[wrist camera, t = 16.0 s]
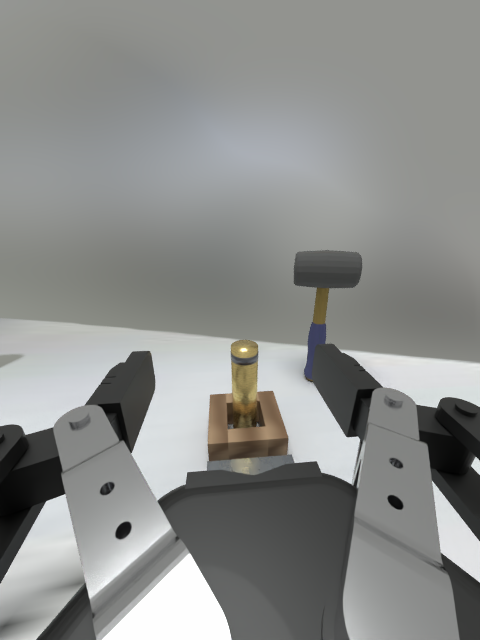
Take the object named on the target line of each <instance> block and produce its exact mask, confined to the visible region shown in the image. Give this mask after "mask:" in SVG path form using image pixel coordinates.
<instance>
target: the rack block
mask: <svg viewBox="0 0 480 640" xmlns="http://www.w3.org/2000/svg"><path fill="white" fill-rule="evenodd" d="M256 422H259V425H260V427H250V428H236V429H228V426H227V424H233V400H232V393H231V394H215V395H210V408H209V428H208V454H209V461H220V460H232V459H245V458H257V457H269V456H281V455H287V448H288V435H287V432H286V429H285V426H284V423H283V420H282V417H281V414H280V411H279V408H278V405H277V402H276V399H275V396H274V393H273V391H264V392H257V421H256Z"/></svg>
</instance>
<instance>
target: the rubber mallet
mask: <svg viewBox="0 0 480 640" xmlns="http://www.w3.org/2000/svg"><path fill="white" fill-rule="evenodd" d="M361 271H362V258H361V255H360V254H359V253H357V252H344V251H329V250H325V251H304V252H298V253H297V254H296V258H295V265H294V284H295V285H297V286H306V287H317V292H316V300H315V308H314V316H313V322H312V324H311V327H310V331H309V336H308V356H307V364H306V367H305V369H304V374H305V376H306V378H307V379H308V380H310V381H313V379H312V366H313V359H314V352H315V347H316V345H317V344H325V341H326V324H325V318H326V310H327V302H328V293H329V288H353V287H355V286H356V285H357V284H358V282H359V280H360V276H361Z"/></svg>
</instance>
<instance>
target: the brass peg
mask: <svg viewBox="0 0 480 640" xmlns="http://www.w3.org/2000/svg"><path fill="white" fill-rule="evenodd" d="M231 364H232V400H233V429H236V428H250V427H256V421H257V370H258V345H257V343H255V342H253V341H250V340H239V341H236V342H234V343H232V345H231Z"/></svg>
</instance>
